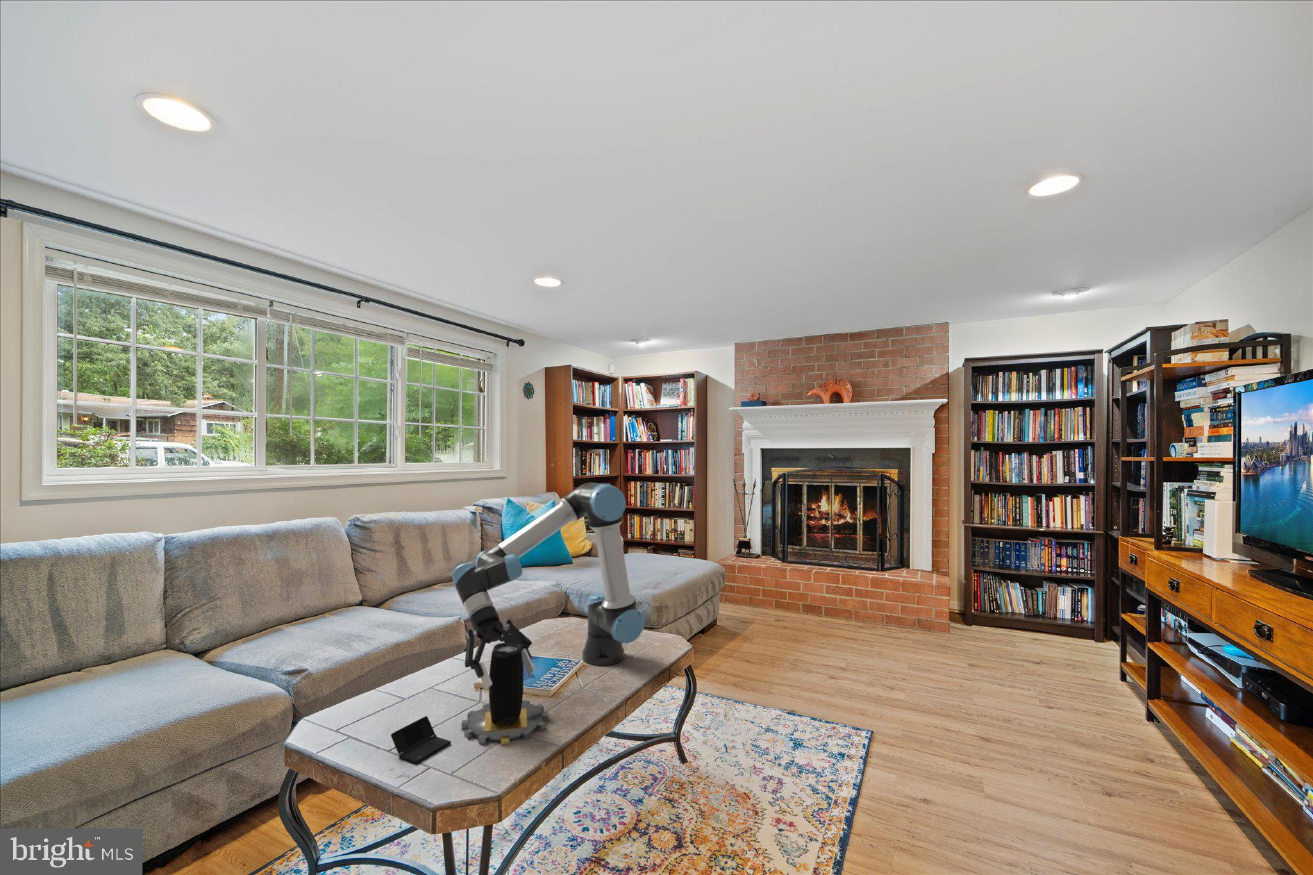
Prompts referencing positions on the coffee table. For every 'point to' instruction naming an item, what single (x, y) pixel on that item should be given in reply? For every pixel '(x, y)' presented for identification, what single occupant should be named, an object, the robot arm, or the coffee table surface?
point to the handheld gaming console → (418, 741)
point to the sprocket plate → (497, 732)
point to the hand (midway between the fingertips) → (511, 679)
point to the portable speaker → (506, 683)
